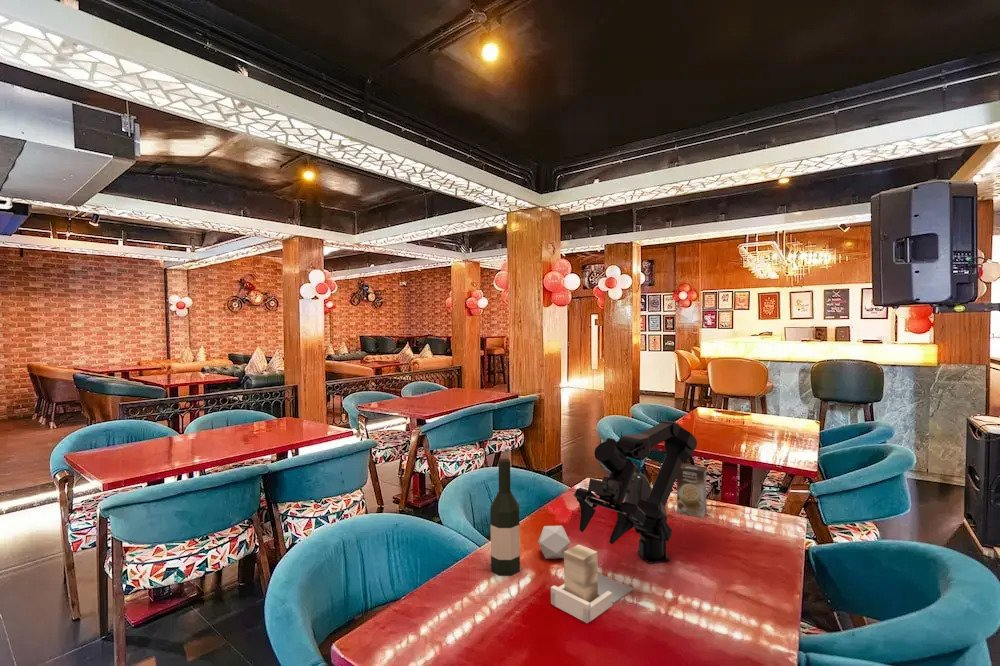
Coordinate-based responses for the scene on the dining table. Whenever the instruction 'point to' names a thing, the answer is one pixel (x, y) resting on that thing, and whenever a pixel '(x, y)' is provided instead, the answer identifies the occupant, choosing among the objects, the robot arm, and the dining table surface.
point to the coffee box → (691, 490)
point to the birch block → (581, 572)
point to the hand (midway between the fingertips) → (595, 537)
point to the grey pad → (612, 588)
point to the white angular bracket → (580, 604)
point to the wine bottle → (505, 526)
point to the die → (553, 542)
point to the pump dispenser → (638, 489)
